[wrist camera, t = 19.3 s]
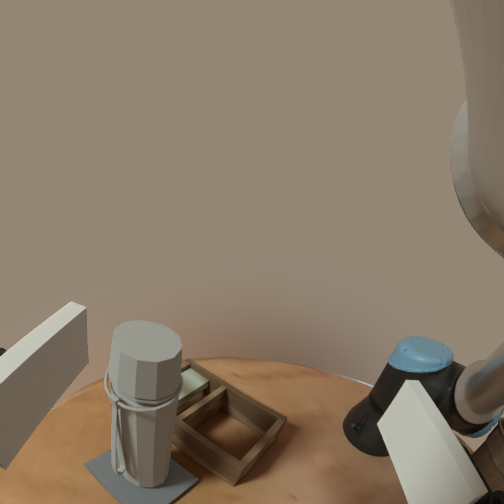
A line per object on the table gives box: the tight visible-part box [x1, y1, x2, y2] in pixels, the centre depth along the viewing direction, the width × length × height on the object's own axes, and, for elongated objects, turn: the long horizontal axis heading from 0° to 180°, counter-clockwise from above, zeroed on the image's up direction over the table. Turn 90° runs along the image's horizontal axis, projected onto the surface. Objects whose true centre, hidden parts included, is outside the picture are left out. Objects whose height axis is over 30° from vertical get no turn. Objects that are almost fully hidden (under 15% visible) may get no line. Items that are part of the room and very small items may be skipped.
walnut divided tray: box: [172, 358, 287, 487], centre depth 42 cm, size 14×22×6 cm, turn 59°
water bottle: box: [104, 320, 183, 488], centre depth 26 cm, size 9×8×25 cm
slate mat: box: [85, 447, 199, 504], centre depth 29 cm, size 12×12×1 cm
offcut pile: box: [176, 368, 209, 416], centre depth 46 cm, size 10×5×5 cm, turn 149°
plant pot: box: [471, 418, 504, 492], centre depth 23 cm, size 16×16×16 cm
